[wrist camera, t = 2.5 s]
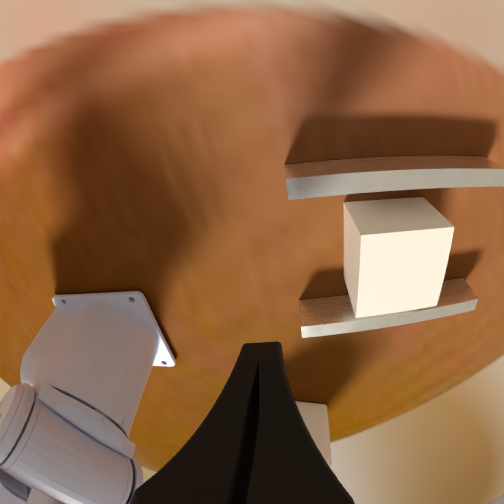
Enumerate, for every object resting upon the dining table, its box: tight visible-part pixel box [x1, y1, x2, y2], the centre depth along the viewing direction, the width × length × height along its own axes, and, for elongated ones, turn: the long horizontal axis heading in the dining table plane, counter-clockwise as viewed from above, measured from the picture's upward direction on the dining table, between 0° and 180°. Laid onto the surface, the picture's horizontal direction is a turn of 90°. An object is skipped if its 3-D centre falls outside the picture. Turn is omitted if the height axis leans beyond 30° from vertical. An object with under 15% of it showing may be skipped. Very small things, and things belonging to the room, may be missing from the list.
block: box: [344, 197, 454, 318], centre depth 15 cm, size 5×5×4 cm
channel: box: [284, 156, 504, 338], centre depth 16 cm, size 12×10×2 cm
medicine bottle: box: [295, 401, 332, 467], centre depth 23 cm, size 7×7×12 cm
